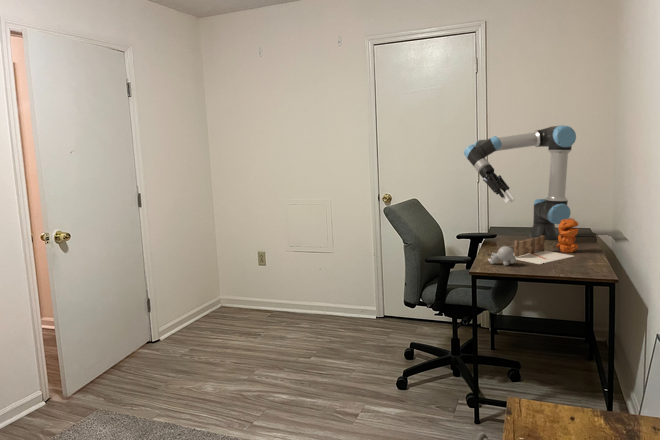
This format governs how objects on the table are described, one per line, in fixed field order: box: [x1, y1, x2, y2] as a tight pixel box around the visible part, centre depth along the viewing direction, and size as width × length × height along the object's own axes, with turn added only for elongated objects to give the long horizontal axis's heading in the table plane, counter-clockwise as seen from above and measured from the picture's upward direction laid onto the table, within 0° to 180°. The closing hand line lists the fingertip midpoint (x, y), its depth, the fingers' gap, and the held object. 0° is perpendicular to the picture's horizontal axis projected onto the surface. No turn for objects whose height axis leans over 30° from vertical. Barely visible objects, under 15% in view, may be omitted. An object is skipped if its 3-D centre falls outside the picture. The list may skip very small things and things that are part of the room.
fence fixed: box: [529, 235, 546, 254], centre depth 257 cm, size 11×2×8 cm, turn 126°
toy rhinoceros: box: [487, 245, 517, 267], centre depth 235 cm, size 7×12×8 cm, turn 66°
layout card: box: [515, 250, 575, 265], centre depth 250 cm, size 22×26×1 cm
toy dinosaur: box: [555, 217, 579, 254], centre depth 258 cm, size 11×11×18 cm
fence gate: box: [513, 238, 532, 257], centre depth 250 cm, size 13×2×8 cm, turn 126°
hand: (510, 201), depth 262 cm, fingers open, 4 cm apart
